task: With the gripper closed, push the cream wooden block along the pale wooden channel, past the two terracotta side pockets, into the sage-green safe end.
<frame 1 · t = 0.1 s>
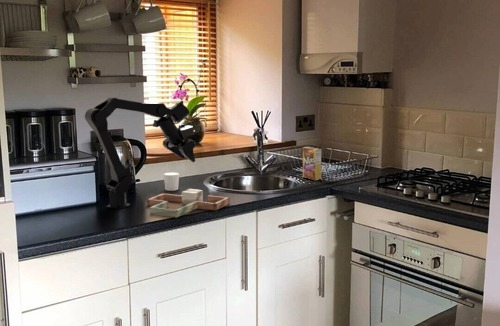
hand: (188, 159, 233), 15 cm above the worktop, tool tilted 30°, fingers open, 9 cm apart
white cup: (171, 189, 247), on the worktop
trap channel: (181, 207, 216), on the worktop
cream block: (192, 203, 223), on the worktop
candy box: (311, 180, 266), on the worktop
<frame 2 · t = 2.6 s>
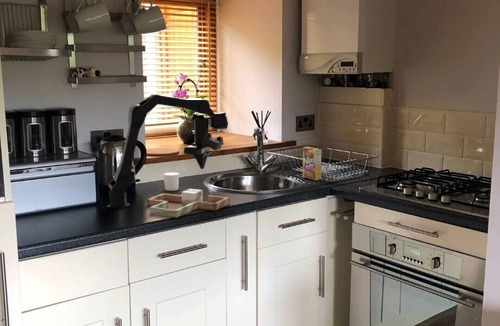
hand: (202, 168, 228), 12 cm above the worktop, tool pointing down, fingers closed
nothing on the worktop moved.
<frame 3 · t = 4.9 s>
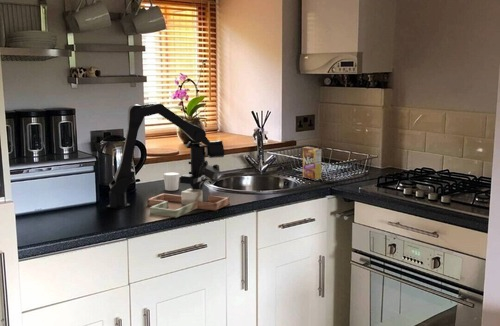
hand: (198, 196, 227), 1 cm above the worktop, tool pointing down, fingers closed
cream block: (192, 203, 223), on the worktop, touching gripper
everything else where it was.
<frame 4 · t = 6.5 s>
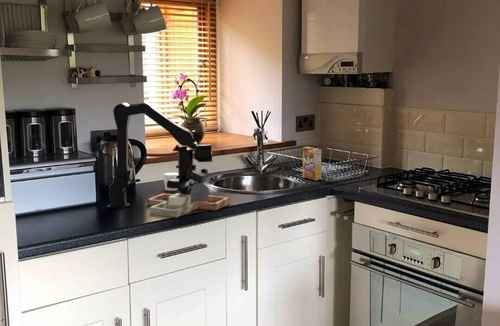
hand: (186, 201, 219), 1 cm above the worktop, tool pointing down, fingers closed
cream block: (179, 208, 215), on the worktop, touching gripper
everything else where it was.
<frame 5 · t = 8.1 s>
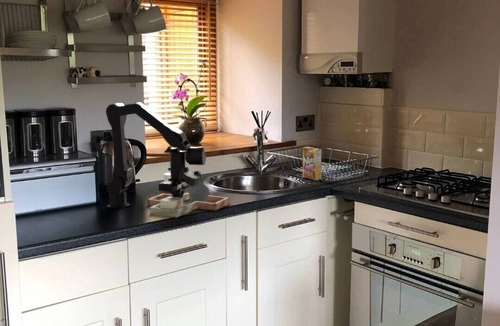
hand: (179, 204, 214), 2 cm above the worktop, tool pointing down, fingers closed
cream block: (171, 212, 210), on the worktop, touching gripper
everything else where it was.
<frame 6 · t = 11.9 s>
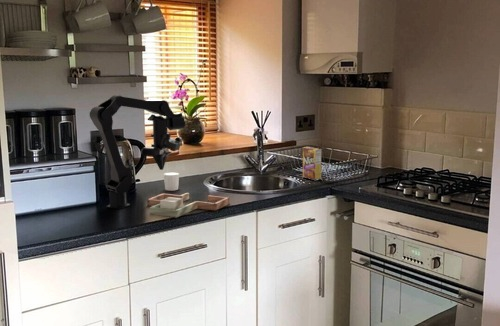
hand: (161, 169, 229), 12 cm above the worktop, tool pointing down, fingers closed
cream block: (171, 212, 210), on the worktop
everything else where it was.
at the end: cream block inside the target area (1.0 cm from its centre), on the worktop; cream block tilted 0° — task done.
